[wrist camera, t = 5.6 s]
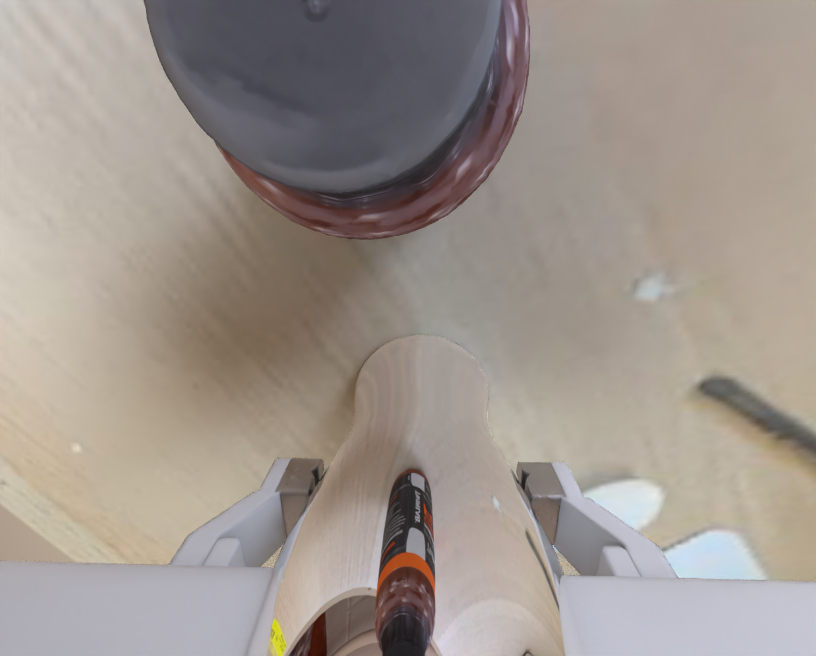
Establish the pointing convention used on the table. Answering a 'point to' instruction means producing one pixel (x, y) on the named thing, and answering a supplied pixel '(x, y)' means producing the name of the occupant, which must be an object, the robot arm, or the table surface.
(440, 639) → the beer glass
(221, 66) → the supplement bottle
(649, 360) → the table surface
